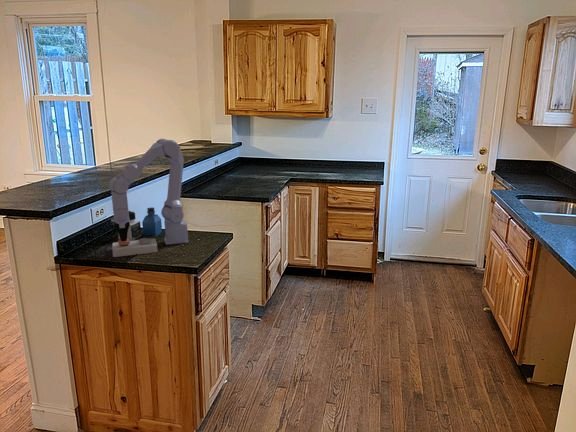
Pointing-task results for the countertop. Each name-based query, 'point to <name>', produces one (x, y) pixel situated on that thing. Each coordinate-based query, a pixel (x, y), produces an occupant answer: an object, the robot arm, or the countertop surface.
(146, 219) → the perfume bottle
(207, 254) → the countertop surface
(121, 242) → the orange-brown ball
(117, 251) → the panel
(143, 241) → the grey button
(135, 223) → the medicine bottle
